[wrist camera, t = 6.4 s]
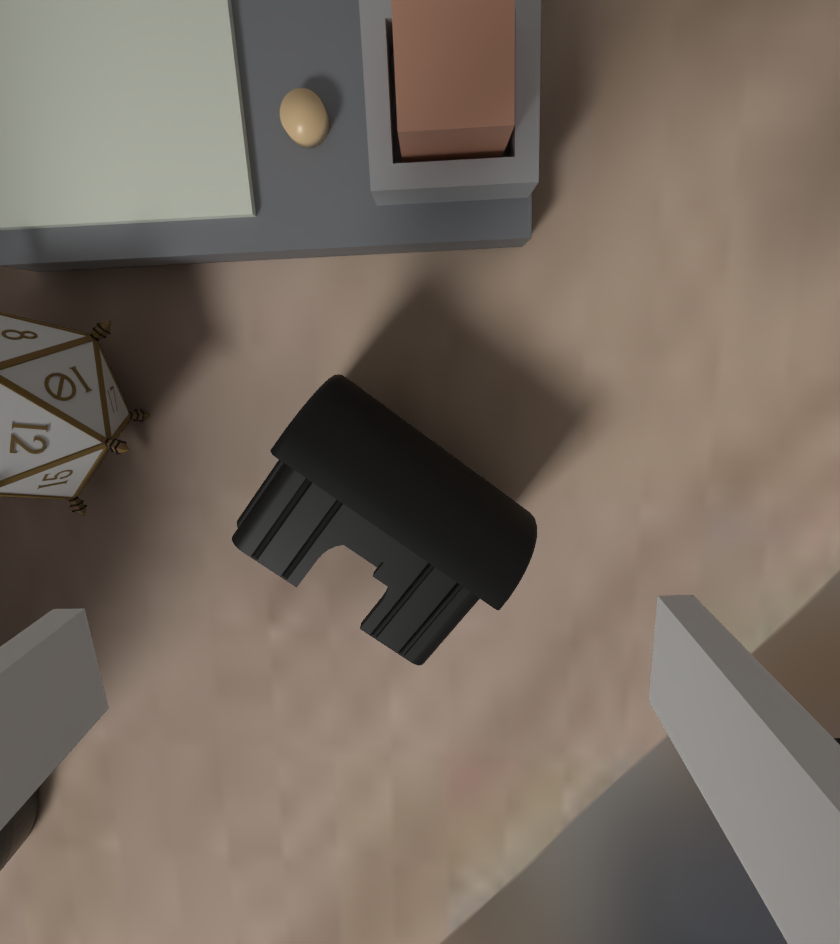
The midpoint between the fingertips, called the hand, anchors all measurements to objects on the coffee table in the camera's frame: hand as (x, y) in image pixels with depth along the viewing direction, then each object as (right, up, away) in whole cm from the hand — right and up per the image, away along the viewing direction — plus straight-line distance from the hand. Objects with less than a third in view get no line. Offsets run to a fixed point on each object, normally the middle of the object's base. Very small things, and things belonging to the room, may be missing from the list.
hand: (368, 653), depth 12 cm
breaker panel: (-5, +21, +8) cm, 23 cm away
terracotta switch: (+2, +17, +6) cm, 18 cm away
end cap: (0, +3, +13) cm, 13 cm away
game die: (-14, +8, +12) cm, 20 cm away
